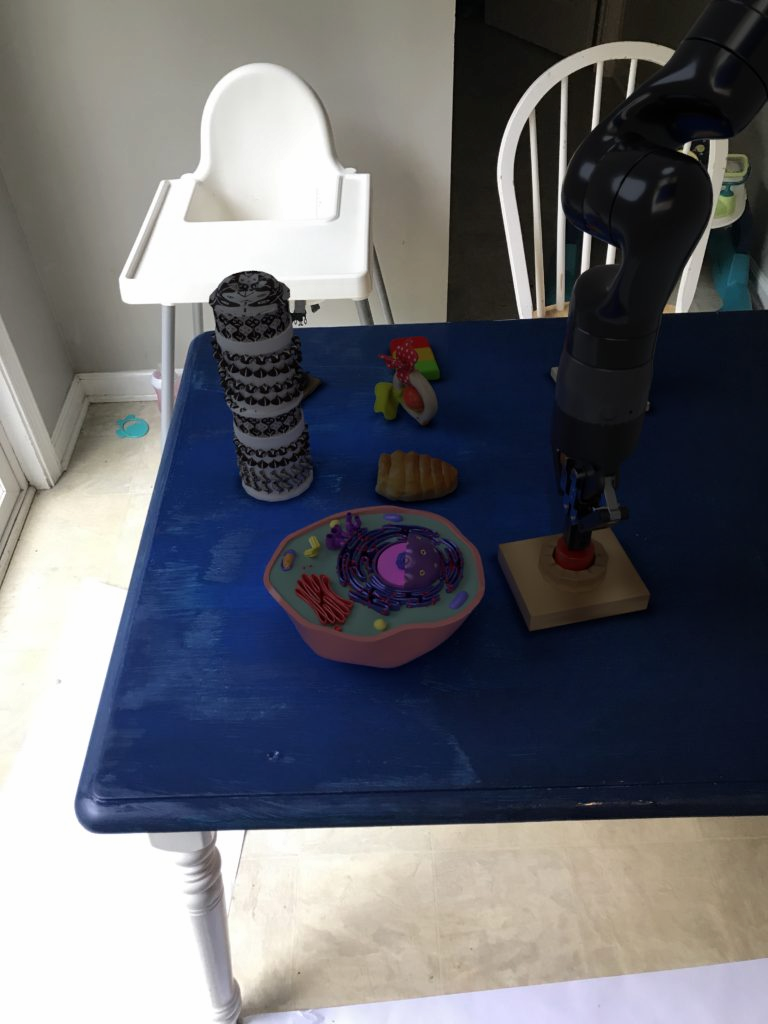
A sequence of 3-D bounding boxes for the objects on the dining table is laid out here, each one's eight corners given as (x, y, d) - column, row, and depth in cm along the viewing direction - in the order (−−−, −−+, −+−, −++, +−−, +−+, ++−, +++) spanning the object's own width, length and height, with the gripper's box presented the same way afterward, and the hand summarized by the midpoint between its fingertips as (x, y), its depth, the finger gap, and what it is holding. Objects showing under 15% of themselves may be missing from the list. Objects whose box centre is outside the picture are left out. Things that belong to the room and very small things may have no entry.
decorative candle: (222, 490, 97) (179, 293, 80) (267, 446, 103) (235, 254, 86) (288, 513, 93) (258, 313, 76) (330, 466, 99) (311, 270, 82)
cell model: (293, 559, 88) (280, 477, 80) (483, 569, 86) (488, 486, 78) (258, 691, 76) (239, 609, 68) (479, 707, 73) (484, 625, 66)
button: (583, 542, 83) (586, 530, 82) (598, 568, 80) (600, 555, 79) (549, 549, 83) (551, 536, 81) (562, 574, 80) (564, 561, 79)
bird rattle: (440, 425, 108) (392, 379, 110) (469, 371, 99) (416, 321, 101) (407, 448, 105) (359, 399, 107) (434, 394, 96) (381, 342, 97)
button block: (605, 539, 88) (611, 512, 86) (646, 609, 81) (654, 581, 78) (497, 559, 87) (499, 531, 84) (529, 631, 80) (532, 603, 77)
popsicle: (426, 345, 119) (426, 333, 118) (448, 405, 108) (448, 392, 107) (388, 349, 118) (388, 338, 117) (406, 410, 107) (406, 397, 106)
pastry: (457, 467, 98) (458, 442, 96) (457, 506, 93) (458, 480, 91) (378, 467, 99) (376, 441, 96) (374, 505, 94) (373, 479, 91)
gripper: (680, 434, 64) (641, 586, 76) (611, 347, 74) (585, 494, 85) (589, 449, 63) (563, 601, 75) (530, 359, 73) (516, 506, 85)
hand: (575, 544), depth 80 cm, fingers closed
